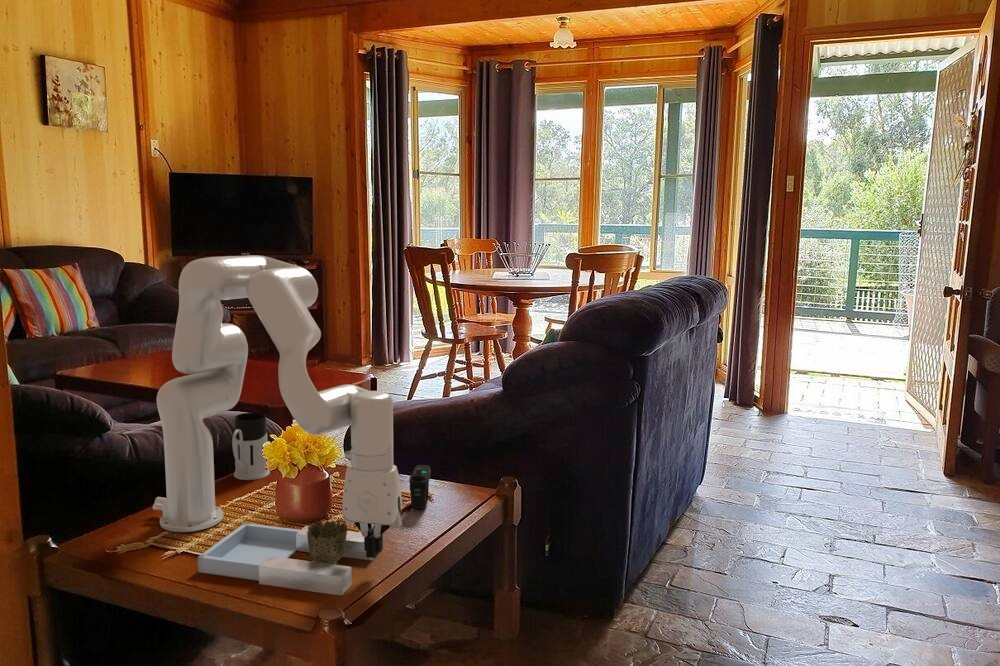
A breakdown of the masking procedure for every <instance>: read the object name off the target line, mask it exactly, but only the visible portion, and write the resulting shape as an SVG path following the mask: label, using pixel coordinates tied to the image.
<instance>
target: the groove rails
mask: <svg viewBox="0 0 1000 666" xmlns="http://www.w3.org/2000/svg"><path fill="white" fill-rule="evenodd" d="M308 527H311V525H310V526H309V525H305V526H304V527H302V528H301V529H299V530H300V531H299V532H298V533H297V534H296V551H297V552H306V553H310V550H309V544H308V537H307V531H308ZM296 551H295V552H296ZM341 558H350V559H359V560H365V561H373V560H375V558H372V557H370V558H368V557H366V551H365V550H364V536H362V534H361V532H357V531H350V530H347V535H346V544H345V550H344V553H343V555H342V557H341ZM258 584H259V585H262V586H263V585H265V586H270V587H277V588H284V589H285V588H286V589H292V590H299V591H305V592H307V591H308V592H312V593H313V592H314V593H320V594H327V595H335V596H339V597H340V596H341V597H342V596H344V594H345V593H346V592H347V590H348V589H349V588H350V587H351V586H352V566H348V565H341V564H337V565H334V564H326V563H319V562H316V561H309V560H305V559H304V560H302V559H297V558H296V559H294V558H290V557H289V558H281V557H274V556H270V557H268V558H267V559H266V560H265V561H264V562H263V563H261V564H260V565H259V581H258Z"/></svg>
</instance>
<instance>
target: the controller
mask: <svg viewBox="0 0 1000 666" xmlns="http://www.w3.org/2000/svg"><path fill="white" fill-rule="evenodd" d="M431 474H432V469H431V466H430V465H428V464H417V465H416V466H415V467H414V469H413V472H412V473H411V474H410V475H409V479H408V483H409V491H410V503H411V507H412V508H415V509H424V508H426V507H427V505H428V500H429V485H430V479H431Z"/></svg>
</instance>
